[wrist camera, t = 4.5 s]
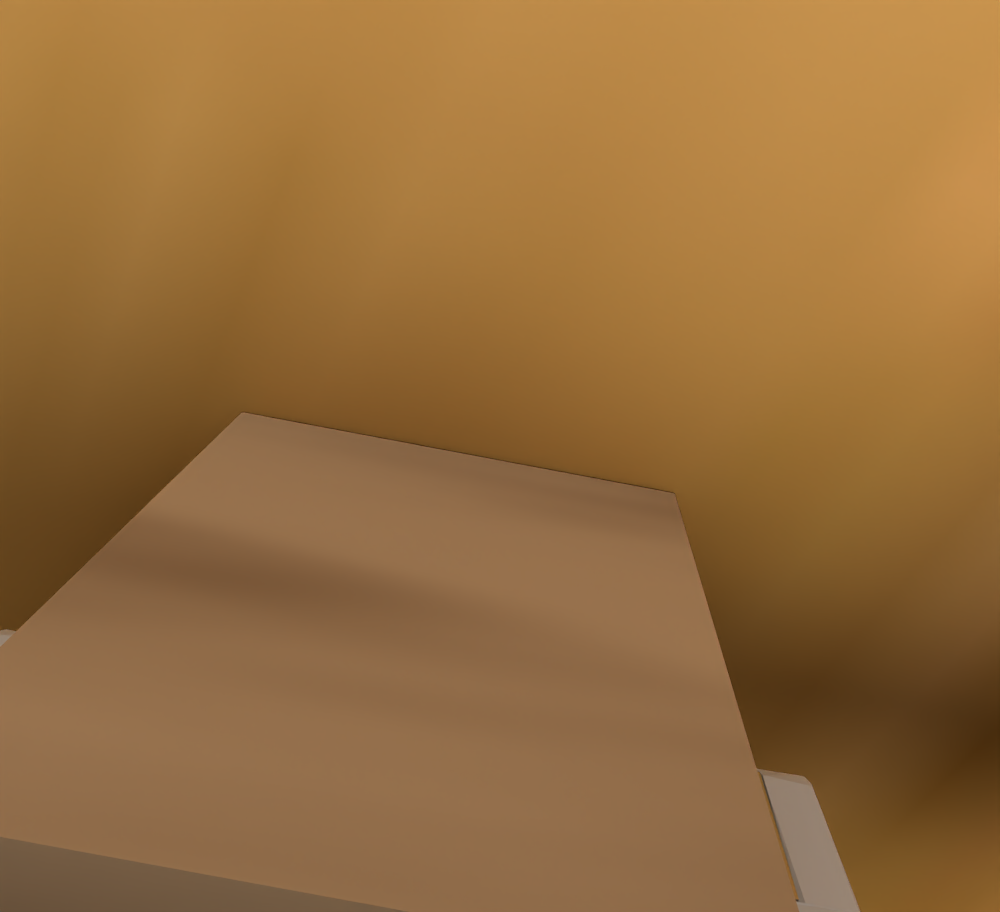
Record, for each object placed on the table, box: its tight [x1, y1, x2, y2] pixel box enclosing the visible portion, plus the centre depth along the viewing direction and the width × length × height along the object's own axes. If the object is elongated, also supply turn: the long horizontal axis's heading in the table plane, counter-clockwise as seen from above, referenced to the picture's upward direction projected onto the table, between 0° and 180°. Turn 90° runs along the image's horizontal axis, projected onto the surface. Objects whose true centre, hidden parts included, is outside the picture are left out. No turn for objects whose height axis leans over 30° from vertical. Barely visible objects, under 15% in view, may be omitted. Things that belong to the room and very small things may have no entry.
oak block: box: [0, 412, 799, 912], centre depth 8 cm, size 5×5×6 cm
